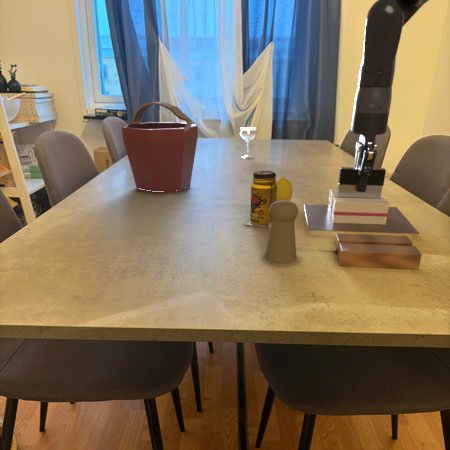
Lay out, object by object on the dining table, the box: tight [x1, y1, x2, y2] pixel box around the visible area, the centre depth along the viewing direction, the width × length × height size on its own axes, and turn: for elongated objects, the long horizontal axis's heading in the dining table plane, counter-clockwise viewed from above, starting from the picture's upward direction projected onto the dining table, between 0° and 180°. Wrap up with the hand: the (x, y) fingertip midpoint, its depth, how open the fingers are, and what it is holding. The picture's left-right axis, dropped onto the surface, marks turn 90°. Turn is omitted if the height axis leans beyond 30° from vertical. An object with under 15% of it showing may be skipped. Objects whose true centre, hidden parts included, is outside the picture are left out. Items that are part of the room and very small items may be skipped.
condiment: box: [244, 170, 277, 228], centre depth 102 cm, size 7×8×12 cm
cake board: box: [303, 204, 420, 235], centre depth 105 cm, size 24×22×1 cm
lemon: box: [276, 176, 294, 201], centre depth 116 cm, size 6×6×8 cm
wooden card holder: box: [334, 233, 422, 271], centre depth 83 cm, size 14×10×3 cm
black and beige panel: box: [337, 166, 387, 199], centre depth 102 cm, size 10×2×11 cm, turn 83°
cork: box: [264, 200, 299, 265], centre depth 82 cm, size 6×6×11 cm
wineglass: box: [239, 126, 257, 159], centre depth 188 cm, size 7×7×12 cm
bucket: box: [121, 101, 199, 195], centre depth 132 cm, size 24×22×25 cm
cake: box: [327, 188, 385, 216], centre depth 107 cm, size 12×7×5 cm, turn 83°
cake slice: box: [331, 198, 390, 225], centre depth 101 cm, size 12×4×5 cm, turn 83°
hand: (359, 190), depth 101 cm, fingers closed on black and beige panel, 2 cm apart
